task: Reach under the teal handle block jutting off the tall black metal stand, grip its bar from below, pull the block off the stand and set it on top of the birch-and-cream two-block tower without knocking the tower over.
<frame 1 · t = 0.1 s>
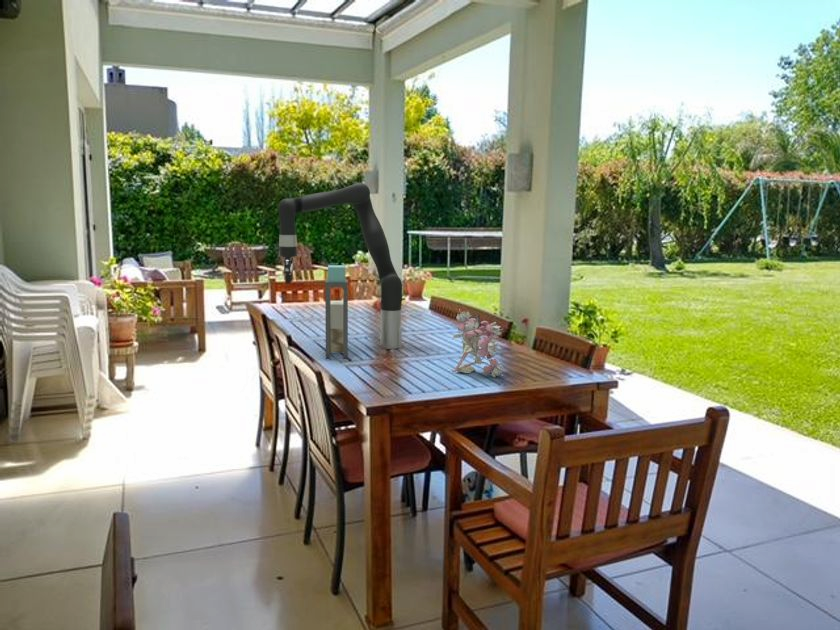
hand: (288, 282, 285), 29 cm above the table, tool pointing down, fingers open, 8 cm apart
stand: (336, 356, 274), on the table
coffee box: (470, 351, 289), on the table
flower: (482, 375, 247), on the table
handle block: (336, 280, 269), point 32 cm above the table, touching stand
tower top block: (337, 326, 286), point 10 cm above the table, touching tower base block
tower base block: (337, 349, 288), on the table, touching tower top block
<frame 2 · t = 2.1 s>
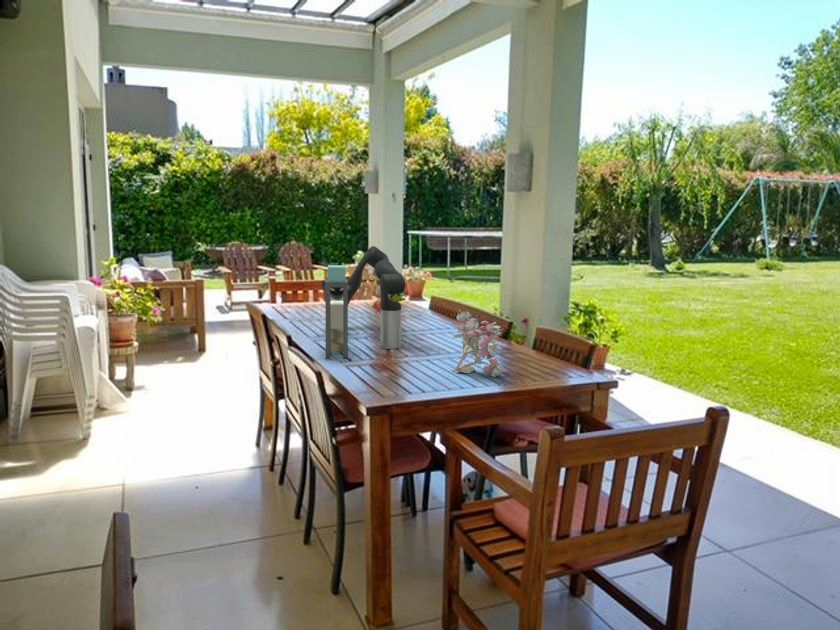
hand: (337, 279, 303), 29 cm above the table, tool pointing upward, fingers open, 8 cm apart
nothing on the table moved.
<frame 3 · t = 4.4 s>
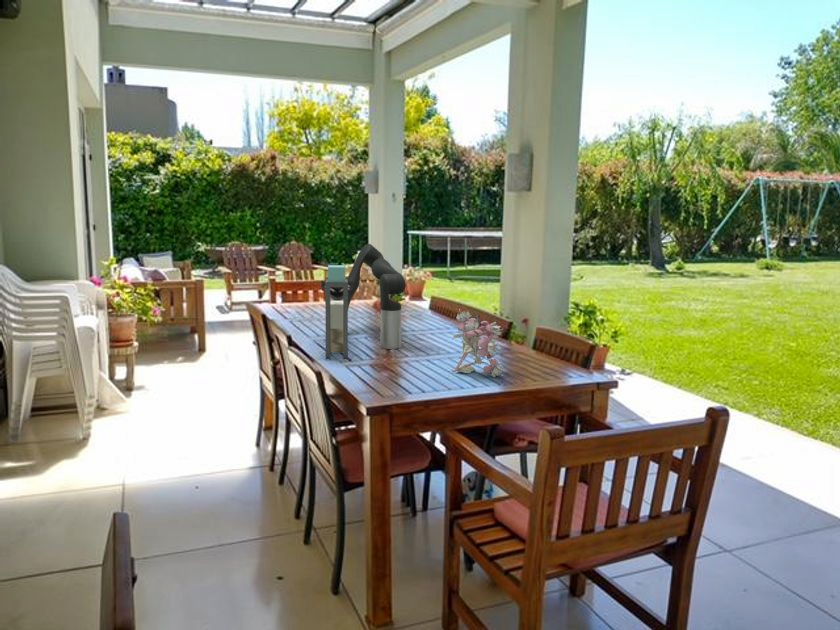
hand: (337, 279, 287), 31 cm above the table, tool pointing upward, fingers open, 8 cm apart
nothing on the table moved.
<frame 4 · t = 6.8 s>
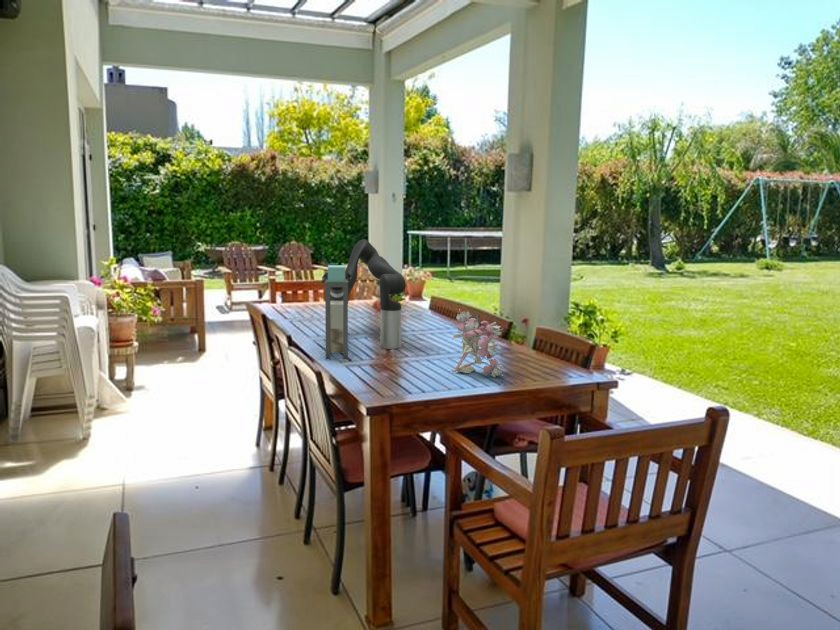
hand: (336, 270, 279), 35 cm above the table, tool pointing upward, fingers closed on handle block, 3 cm apart
handle block: (336, 280, 269), point 32 cm above the table, touching gripper, stand
everything else where it was.
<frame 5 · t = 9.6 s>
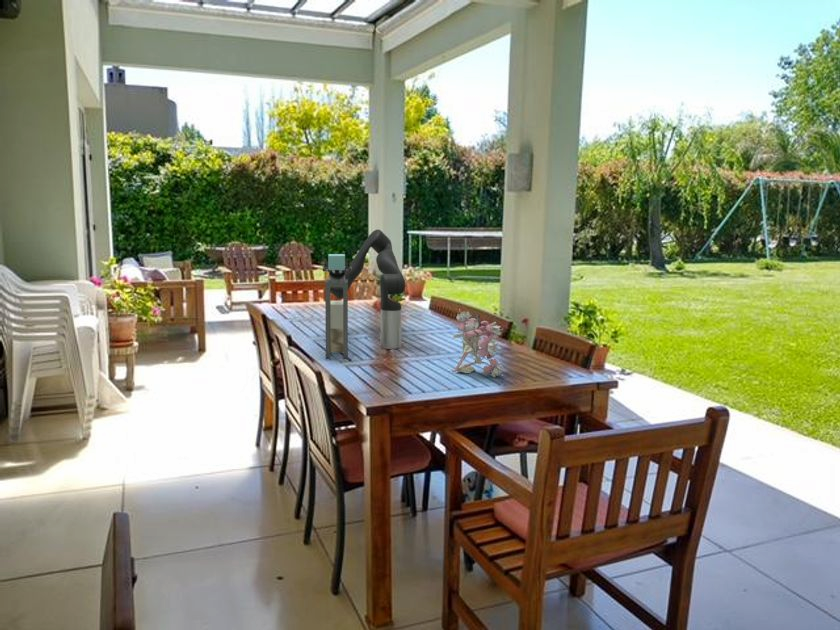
hand: (336, 259, 290), 39 cm above the table, tool pointing upward, fingers closed on handle block, 3 cm apart
handle block: (336, 268, 280), point 36 cm above the table, touching gripper
everything else where it was.
when the fingers open (26 cm above the table, at t = 12.8 s): handle block drops 2 cm, resting on tower top block.
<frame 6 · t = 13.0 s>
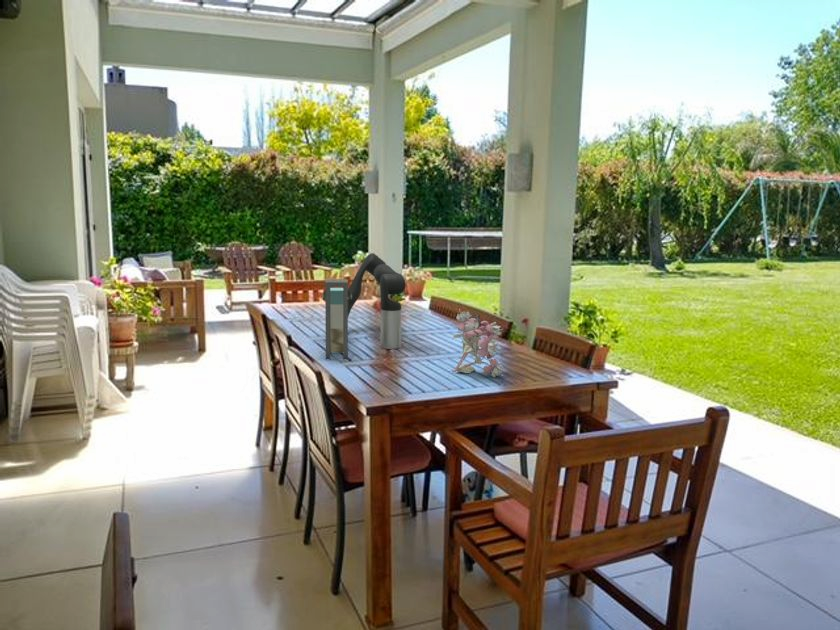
hand: (337, 288, 293), 26 cm above the table, tool pointing upward, fingers open, 5 cm apart
handle block: (336, 302, 284), point 21 cm above the table, touching tower top block
tower top block: (337, 326, 286), point 10 cm above the table, touching handle block, tower base block
everything else where it was.
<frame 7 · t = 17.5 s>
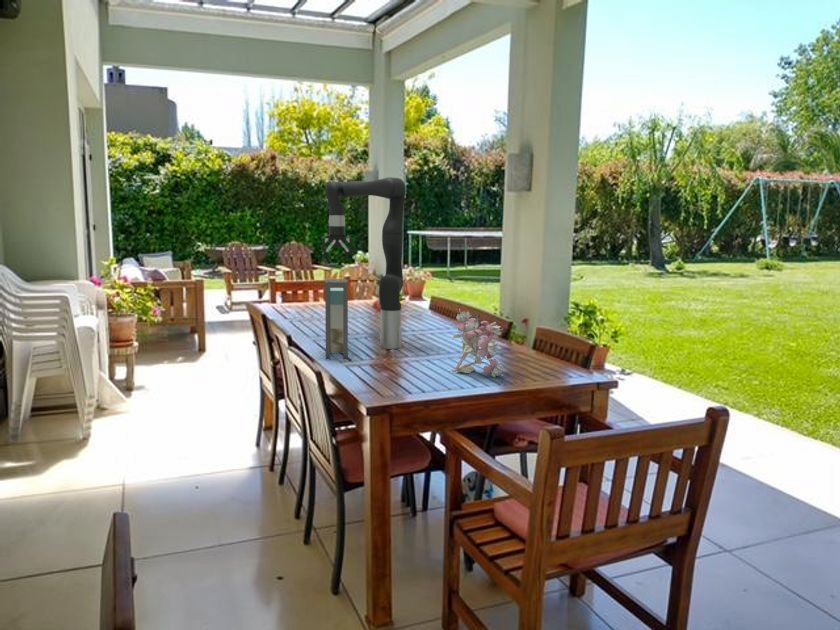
hand: (337, 260, 306), 38 cm above the table, tool pointing down, fingers open, 8 cm apart
nothing on the table moved.
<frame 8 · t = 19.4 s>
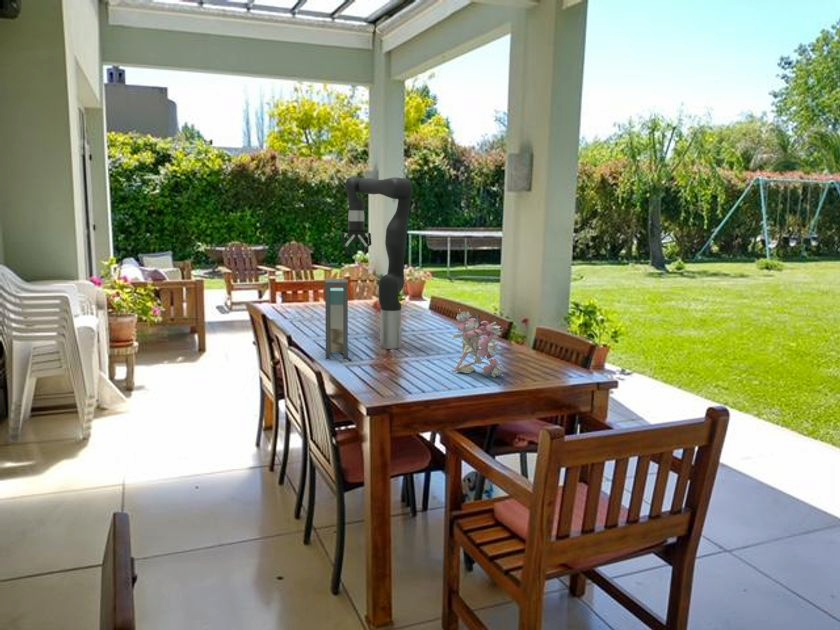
hand: (356, 254, 311), 40 cm above the table, tool pointing down, fingers open, 8 cm apart
nothing on the table moved.
at the end: handle block inside the target area on the tower top block (0.5 cm from its centre), point 10.5 cm above the tower top block's base; tower top block tilted 0°; handle block tilted 0° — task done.
